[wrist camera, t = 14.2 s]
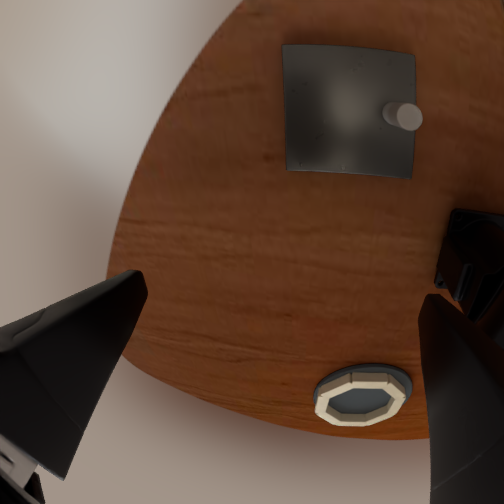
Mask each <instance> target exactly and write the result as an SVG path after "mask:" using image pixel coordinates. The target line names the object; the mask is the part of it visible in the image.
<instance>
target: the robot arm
mask: <svg viewBox="0 0 504 504" xmlns="http://www.w3.org/2000/svg"><path fill="white" fill-rule="evenodd" d="M457 214H459V217H458V218H456V215H457ZM441 280H442V282H440V283H438V282H439V281H441ZM434 284H435V286H436V287H437V288H440V289H448V290H449V292H450V294H451V296H452V298H453V300H454V301H458V303H459V305H460V307H461V309H462V311H463V313H464V314H463V313H462V312H460V311H459V310H458V309H457V308H456V307H455V306H453V305H452V304H451V303H450V302H448V301H447V300H446V299H445V298H444V297H442V296H441V295H440V294H427V295H426V297H425V299H424V302H423V305H422V308H421V311H420V314H419V317H418V326H419V337H420V351H421V365H422V373H423V379H424V387H425V394H426V403H427V412H428V423H429V437H430V459H431V489H430V490H431V492H430V504H504V215H500V214H494V213H488V212H481V211H475V210H468V209H461V208H455V209H454V210H453V211H452V212H451V216H450V221H449V226H448V230H447V234H446V236H445V237H444V239H443V243H442V247H441V251H440V255H439V259H438V263H437V272H436V276H435V279H434ZM147 296H148V290H147V287H146V283H145V280H144V276H143V273H142V272H141V271H139V270H128V271H126V272H123V273H121V274H119V275H117V276H114V277H112V278H110V279H107V280H105V281H103V282H101V283H99V284H96V285H94V286H92V287H89V288H87V289H85V290H83V291H81V292H78V293H76V294H74V295H72V296H70V297H68V298H65V299H63V300H61V301H59V302H57V303H54V304H52V305H50V306H48V307H46V308H44V309H41V310H39V311H37V312H35V313H33V314H31V315H28V316H26V317H24V318H22V319H19V320H17V321H15V322H12V323H10V324H7V325H5V326H3V327H0V504H45V500H44V496H43V491H42V488H41V483H40V478H39V475H38V474H37V473H36V472H34V470H35V469H36V467H37V465H38V464H39V465H40V466H41V467H43V468H44V469H46V470H47V471H49V472H50V473H51V474H53V475H55V476H56V477H58V478H59V479H61V480H62V481H64V479H65V477H66V475H67V473H68V470H69V467H70V465H71V462H72V460H73V457H74V455H75V453H76V450H77V448H78V445H79V443H80V441H81V439H82V436H83V434H84V431H85V429H86V427H87V425H88V422H89V420H90V418H91V416H92V413H93V411H94V409H95V407H96V405H97V403H98V401H99V399H100V396H101V394H102V392H103V390H104V388H105V386H106V384H107V382H108V380H109V378H110V376H111V374H112V372H113V370H114V368H115V366H116V364H117V362H118V360H119V358H120V356H121V354H122V352H123V350H124V348H125V346H126V344H127V342H128V341H129V339H130V337H131V335H132V333H133V330H134V328H135V326H136V323H137V321H138V318H139V316H140V313H141V311H142V309H143V306H144V304H145V302H146V299H147Z"/></svg>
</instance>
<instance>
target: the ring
mask: <svg viewBox="0 0 504 504" xmlns="http://www.w3.org/2000/svg"><path fill="white" fill-rule="evenodd" d="M353 388H367V389H383V390H385V391H386V392H387V393H388V394H389V395H391V396H392V397H391V398H390V400H389V402H388V404H387V405H386V406H384V407H381V408H379V409H377V410H374V411H372V412H369V413H367V414H342V413H340V412H338V411H336V410H335V409H333V408H332V407H330V406H329V405H328V402H329V398H332V397H334V396H336V395H339V394H341V393H343V392H346V391H348V390H350V389H353ZM405 399H406V394H405V387H403V386H402V385H401V384H400V383H399V382H398V381H397V380H396V379H395V378H394V377H393V376H392V375H391V374H388V375H387V373H362V372H353V373H352V375H351V374H350V373H348V374H346V375H344V376H342V377H340V378H338V379H335V380H333V381H331V382H329V383H327V384H324V385H322V386H321V388H319V391H318V396H317V400H316V405H315V413H316V415H318V416H320V417H321V418H323V419H325V420H326V421H328V422H330V423H331V424H333V425H336V424H337V426H366V425H371V424H374V423H376V422H379V421H382V420H384V419H387V418H389V417H392V416H394V414H396V413H397V412H398V410H399V408H400V407H401V405H402V404H403V402H404V400H405Z"/></svg>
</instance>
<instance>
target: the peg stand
mask: <svg viewBox="0 0 504 504" xmlns="http://www.w3.org/2000/svg"><path fill="white" fill-rule="evenodd" d="M282 63H283V84H284V108H285V140H286V170H288V171H314V172H333V173H348V174H361V175H373V176H384V177H394V178H403V179H411V178H412V168H413V157H414V144H415V130H416V129H418V128H419V127H420V126H421V124H422V113H421V111H420V109H419V108H418V107H417V106H416V68H415V55H412V54H407V53H401V52H395V51H389V50H382V49H374V48H365V47H355V46H342V45H321V44H284V45H282Z"/></svg>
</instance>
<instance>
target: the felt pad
mask: <svg viewBox="0 0 504 504" xmlns="http://www.w3.org/2000/svg"><path fill="white" fill-rule="evenodd" d="M353 372H362V373H387V375H388V374H391V375H392V376H393V377H394V378H395V379H396V380H397V381H398V382H399V383H400V384H401V385H402V386H403V387H405V394H406V399H405V400H404V402H403V404H404V403H405V402H406V401H407V400H408V398H409V397H410V395H411V392H412V382H411V379H410V377H409V376H408V374H407V373H406V372H404V371H403V370H401V369H399V368H397V367H394V366H390V365H385V364H361V365H355V366H351V367H347V368H344V369H341V370H338V371H336V372H334V373H332V374H330V375H328V376H327V377H325V378H324V379H323V380H322V381H320V383H319V384H318V385H317V387H316V388H315V391H314V397H313V399H314V403H315V405H316V400H317V396H318V391H319V388H321V386H322V385H324V384H327V383H329V382H331V381H333V380H335V379H338V378H340V377H342V376H344V375H346V374H348V373H350V374H351V375H352V373H353ZM391 397H392V396H391V395H389V394H388V393H387V392H386V391H385V390H383V389H367V388H353V389H350V390H348V391H346V392H343V393H341V394H339V395H336V396H334V397H332V398H329V402H328V405H329V406H330V407H332V408H333V409H335V410H336V411H338V412H340V413H342V414H367V413H369V412H372V411H374V410H377V409H379V408H381V407H384V406H386V405H387V404H388V402H389V400H390V398H391ZM403 404H402V405H403ZM402 405H401V406H402Z"/></svg>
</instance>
